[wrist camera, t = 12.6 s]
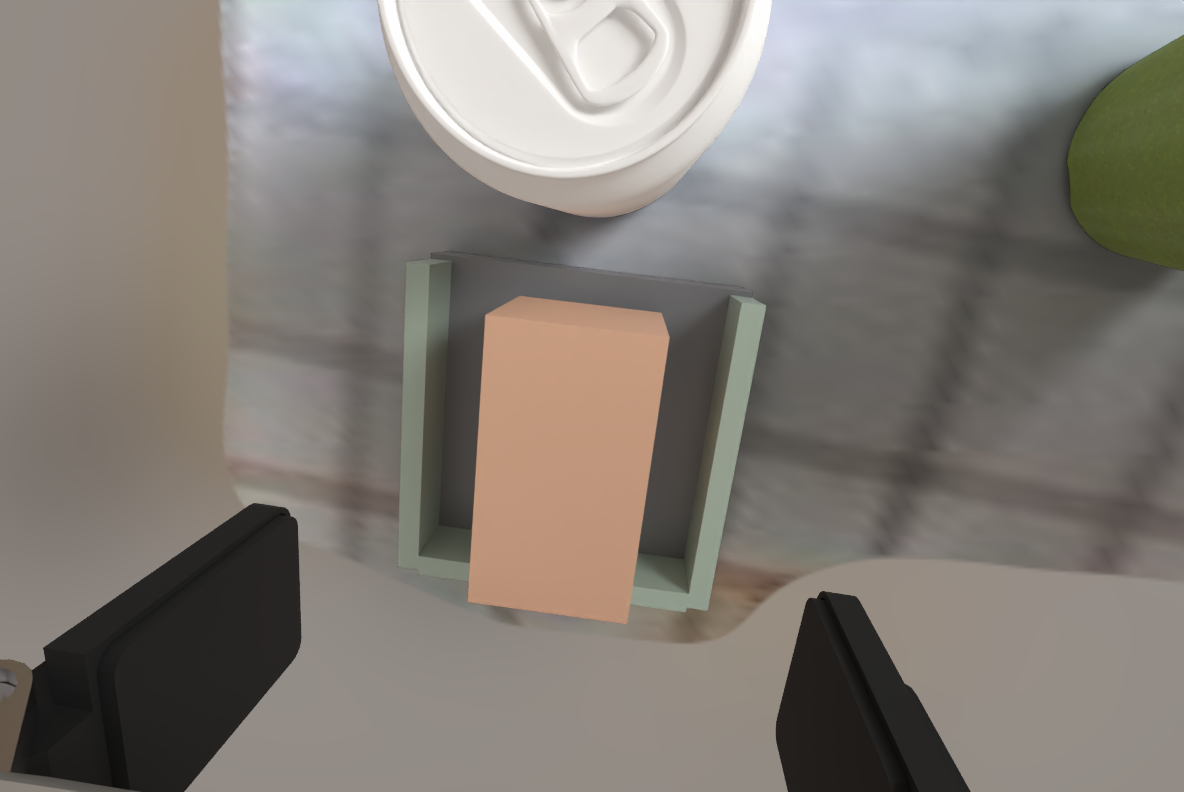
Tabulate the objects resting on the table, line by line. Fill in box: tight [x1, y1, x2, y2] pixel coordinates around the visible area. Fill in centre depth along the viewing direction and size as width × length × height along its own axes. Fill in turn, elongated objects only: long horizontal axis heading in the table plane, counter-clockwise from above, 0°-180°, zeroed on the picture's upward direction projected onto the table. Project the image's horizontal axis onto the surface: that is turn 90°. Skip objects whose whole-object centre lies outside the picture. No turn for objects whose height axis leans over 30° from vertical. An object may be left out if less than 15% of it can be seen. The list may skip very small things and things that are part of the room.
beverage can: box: [377, 0, 772, 218], centre depth 17 cm, size 8×8×12 cm
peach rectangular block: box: [468, 296, 670, 624], centre depth 20 cm, size 9×5×6 cm, turn 174°
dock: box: [398, 251, 766, 612], centre depth 23 cm, size 12×12×4 cm
